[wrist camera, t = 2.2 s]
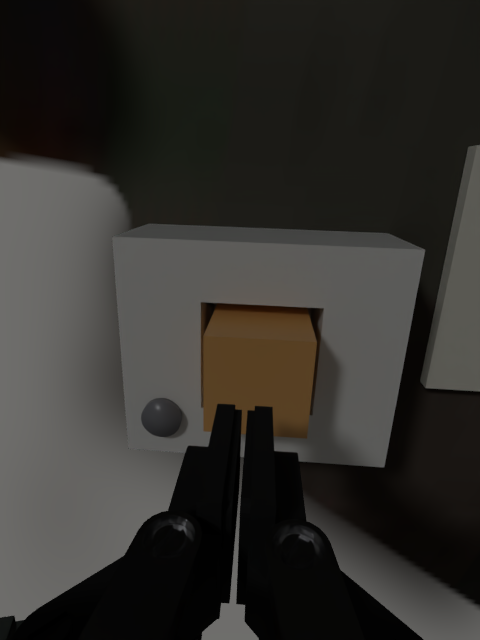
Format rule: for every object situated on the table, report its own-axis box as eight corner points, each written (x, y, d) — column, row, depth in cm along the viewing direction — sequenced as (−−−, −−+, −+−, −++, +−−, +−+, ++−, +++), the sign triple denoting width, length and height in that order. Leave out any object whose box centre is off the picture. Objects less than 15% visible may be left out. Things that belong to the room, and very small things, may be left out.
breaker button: (306, 305, 18) (317, 342, 14) (299, 383, 19) (307, 438, 15) (218, 300, 18) (203, 335, 14) (217, 378, 19) (203, 431, 15)
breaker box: (387, 233, 19) (429, 251, 14) (360, 408, 23) (386, 473, 18) (148, 223, 20) (108, 238, 15) (156, 395, 24) (125, 454, 18)
